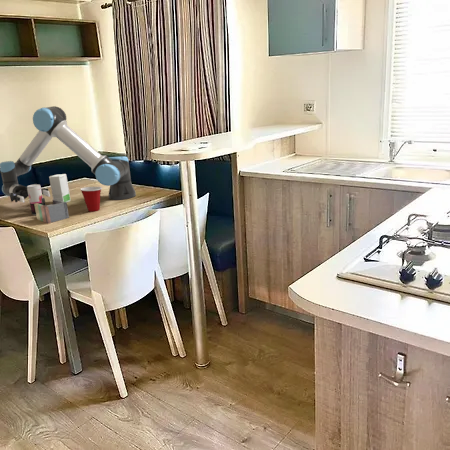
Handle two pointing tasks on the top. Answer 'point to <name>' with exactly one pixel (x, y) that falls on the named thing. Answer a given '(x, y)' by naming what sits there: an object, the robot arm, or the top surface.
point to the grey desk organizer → (52, 211)
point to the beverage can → (34, 196)
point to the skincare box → (60, 187)
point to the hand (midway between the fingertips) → (36, 196)
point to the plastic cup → (92, 198)
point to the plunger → (44, 202)
